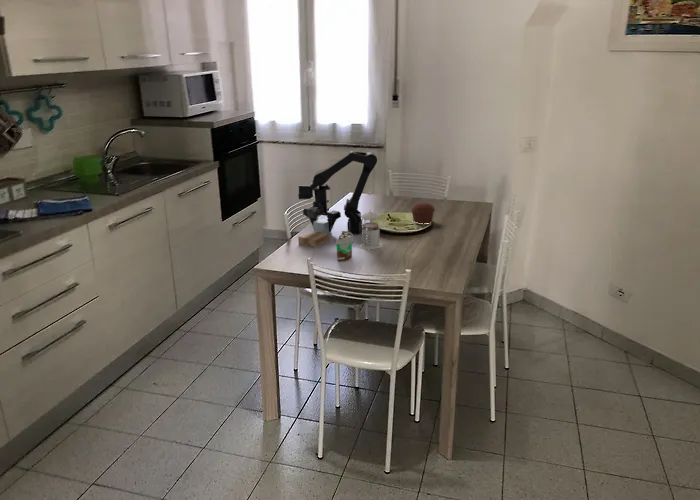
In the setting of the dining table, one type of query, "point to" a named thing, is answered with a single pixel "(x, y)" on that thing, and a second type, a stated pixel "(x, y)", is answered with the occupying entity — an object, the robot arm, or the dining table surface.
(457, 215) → the dining table surface
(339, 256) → the food container
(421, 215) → the muffin
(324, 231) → the slate cube
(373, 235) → the french press
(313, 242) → the walnut block
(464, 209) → the dining table surface
